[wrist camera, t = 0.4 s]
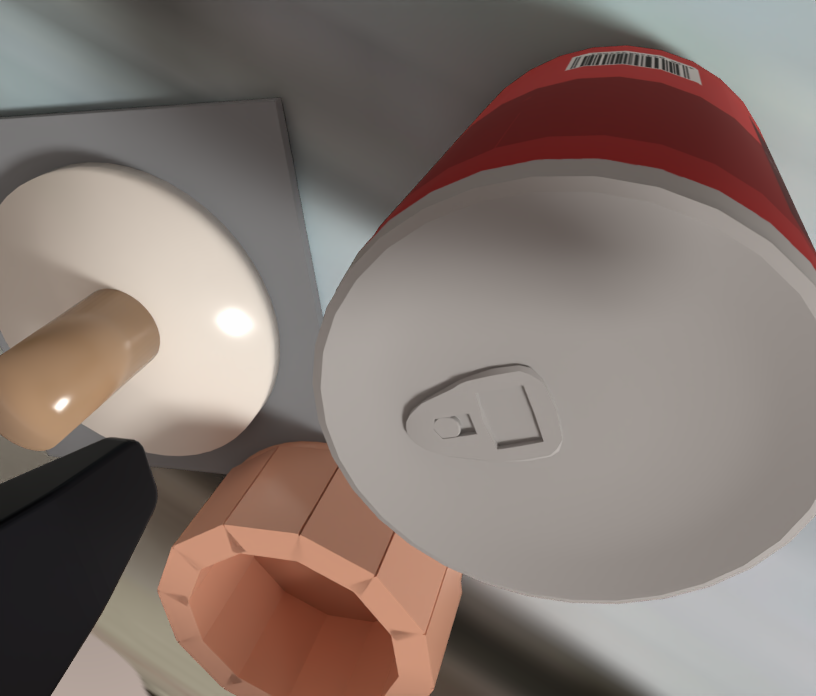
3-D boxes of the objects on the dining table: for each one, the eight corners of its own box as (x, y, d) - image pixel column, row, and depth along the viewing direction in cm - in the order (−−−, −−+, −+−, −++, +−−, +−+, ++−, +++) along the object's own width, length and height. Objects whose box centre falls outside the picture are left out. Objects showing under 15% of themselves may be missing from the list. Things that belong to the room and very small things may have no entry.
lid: (306, 451, 27) (228, 571, 22) (65, 429, 31) (-50, 529, 26) (239, 155, 22) (117, 227, 17) (-43, 167, 26) (-213, 231, 21)
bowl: (473, 641, 31) (444, 755, 27) (257, 606, 34) (201, 704, 30) (452, 445, 26) (412, 548, 22) (203, 425, 29) (126, 512, 25)
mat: (354, 480, 28) (350, 487, 28) (54, 450, 32) (48, 455, 32) (280, 97, 21) (274, 100, 21) (-86, 123, 26) (-96, 125, 25)
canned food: (407, 152, 21) (215, 338, 12) (672, -36, 17) (684, 30, 8) (551, 358, 23) (480, 653, 14) (819, 234, 19) (962, 532, 10)
